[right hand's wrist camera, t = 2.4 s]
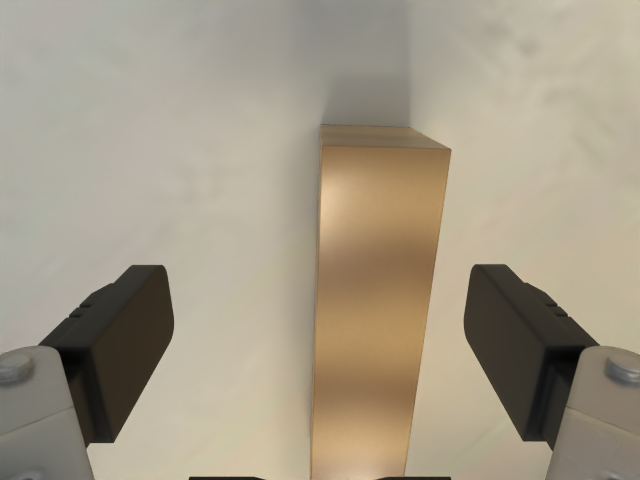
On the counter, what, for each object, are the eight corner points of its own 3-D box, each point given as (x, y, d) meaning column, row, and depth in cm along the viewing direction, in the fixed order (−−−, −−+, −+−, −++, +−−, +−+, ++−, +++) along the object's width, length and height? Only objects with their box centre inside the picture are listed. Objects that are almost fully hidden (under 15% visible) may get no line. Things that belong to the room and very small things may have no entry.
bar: (320, 124, 26) (321, 144, 18) (410, 127, 26) (452, 149, 18) (310, 441, 35) (308, 547, 27) (376, 442, 36) (393, 549, 27)
